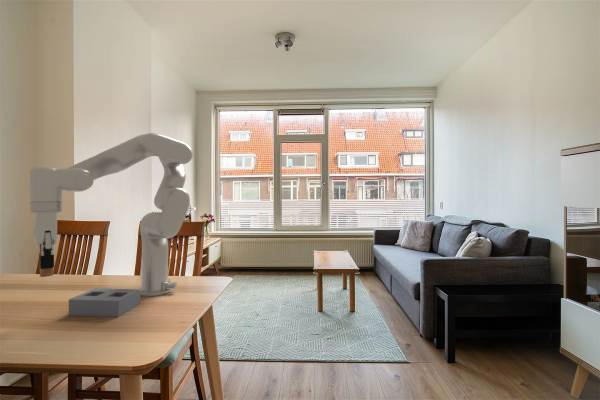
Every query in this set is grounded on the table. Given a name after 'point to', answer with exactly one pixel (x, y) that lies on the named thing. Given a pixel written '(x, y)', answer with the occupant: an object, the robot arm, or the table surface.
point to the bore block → (104, 302)
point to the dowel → (45, 271)
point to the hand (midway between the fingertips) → (46, 266)
